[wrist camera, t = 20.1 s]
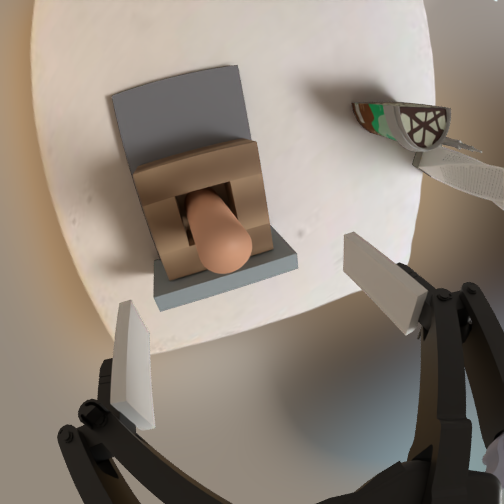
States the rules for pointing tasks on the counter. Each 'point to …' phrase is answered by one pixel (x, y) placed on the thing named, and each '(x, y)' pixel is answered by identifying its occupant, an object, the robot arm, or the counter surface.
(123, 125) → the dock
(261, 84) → the counter surface
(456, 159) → the skyscraper
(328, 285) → the counter surface
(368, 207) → the counter surface
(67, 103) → the counter surface
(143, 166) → the block
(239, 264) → the dowel
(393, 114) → the food container
